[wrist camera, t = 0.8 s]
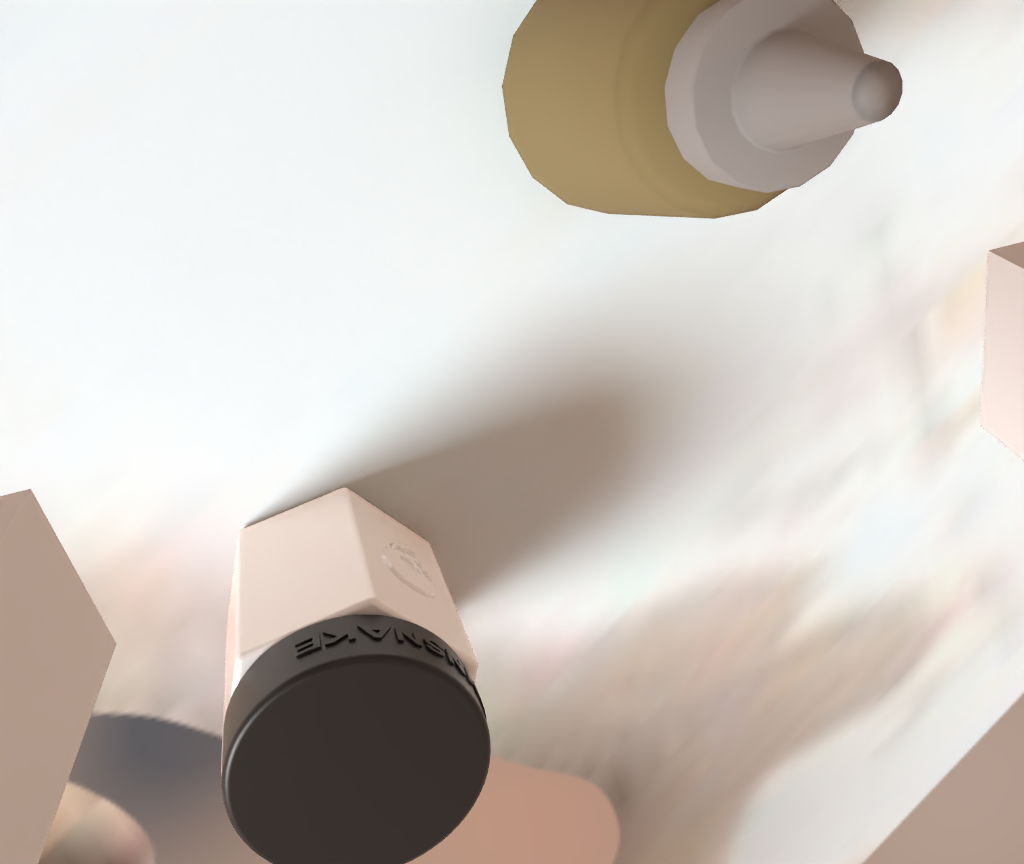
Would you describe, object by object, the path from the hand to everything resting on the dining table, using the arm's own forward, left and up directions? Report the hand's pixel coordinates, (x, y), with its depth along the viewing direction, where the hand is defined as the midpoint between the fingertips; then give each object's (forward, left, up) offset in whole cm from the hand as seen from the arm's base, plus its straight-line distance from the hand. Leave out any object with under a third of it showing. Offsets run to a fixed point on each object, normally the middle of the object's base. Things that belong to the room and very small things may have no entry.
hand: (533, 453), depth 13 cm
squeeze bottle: (-1, +10, -24) cm, 26 cm away
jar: (+13, -7, -24) cm, 28 cm away
